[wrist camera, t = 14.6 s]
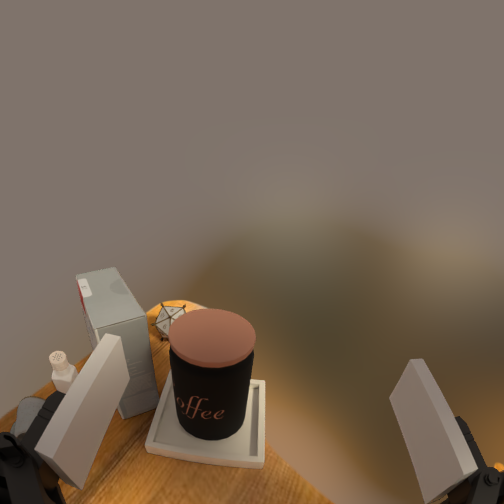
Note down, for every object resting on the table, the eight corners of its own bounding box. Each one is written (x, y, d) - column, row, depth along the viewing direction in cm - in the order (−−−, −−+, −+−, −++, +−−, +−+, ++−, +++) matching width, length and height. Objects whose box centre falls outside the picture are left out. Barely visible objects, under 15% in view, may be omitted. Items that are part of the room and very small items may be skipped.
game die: (166, 348, 62) (143, 310, 61) (197, 330, 65) (175, 292, 65) (170, 357, 54) (143, 314, 53) (206, 336, 57) (181, 292, 56)
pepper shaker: (85, 388, 42) (71, 350, 39) (80, 404, 39) (64, 366, 35) (66, 385, 42) (51, 347, 38) (61, 401, 38) (43, 363, 34)
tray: (263, 389, 50) (265, 380, 49) (262, 469, 34) (264, 462, 33) (171, 378, 50) (170, 368, 49) (147, 452, 34) (144, 445, 33)
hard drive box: (96, 363, 49) (74, 273, 41) (130, 353, 54) (116, 265, 46) (122, 421, 38) (92, 327, 31) (162, 407, 43) (148, 312, 35)
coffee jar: (163, 415, 40) (150, 329, 33) (210, 384, 48) (211, 299, 41) (212, 456, 34) (212, 377, 27) (258, 416, 42) (273, 333, 35)
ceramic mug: (64, 418, 35) (47, 389, 32) (69, 458, 29) (48, 431, 26) (14, 422, 30) (-6, 393, 27) (14, 460, 23) (-11, 433, 21)
